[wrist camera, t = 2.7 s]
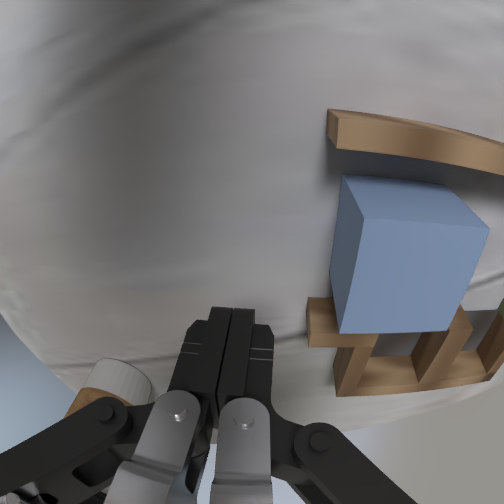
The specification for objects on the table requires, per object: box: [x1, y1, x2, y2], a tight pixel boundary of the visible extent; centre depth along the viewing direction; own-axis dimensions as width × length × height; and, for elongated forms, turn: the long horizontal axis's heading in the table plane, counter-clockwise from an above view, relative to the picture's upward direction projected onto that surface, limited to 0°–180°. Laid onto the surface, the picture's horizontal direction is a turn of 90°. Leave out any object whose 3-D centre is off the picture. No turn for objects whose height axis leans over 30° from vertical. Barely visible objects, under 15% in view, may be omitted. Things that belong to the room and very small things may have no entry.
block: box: [329, 174, 490, 334], centre depth 14 cm, size 6×6×5 cm
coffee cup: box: [63, 359, 151, 504], centre depth 21 cm, size 8×8×15 cm
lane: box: [306, 109, 504, 397], centre depth 16 cm, size 20×18×3 cm
